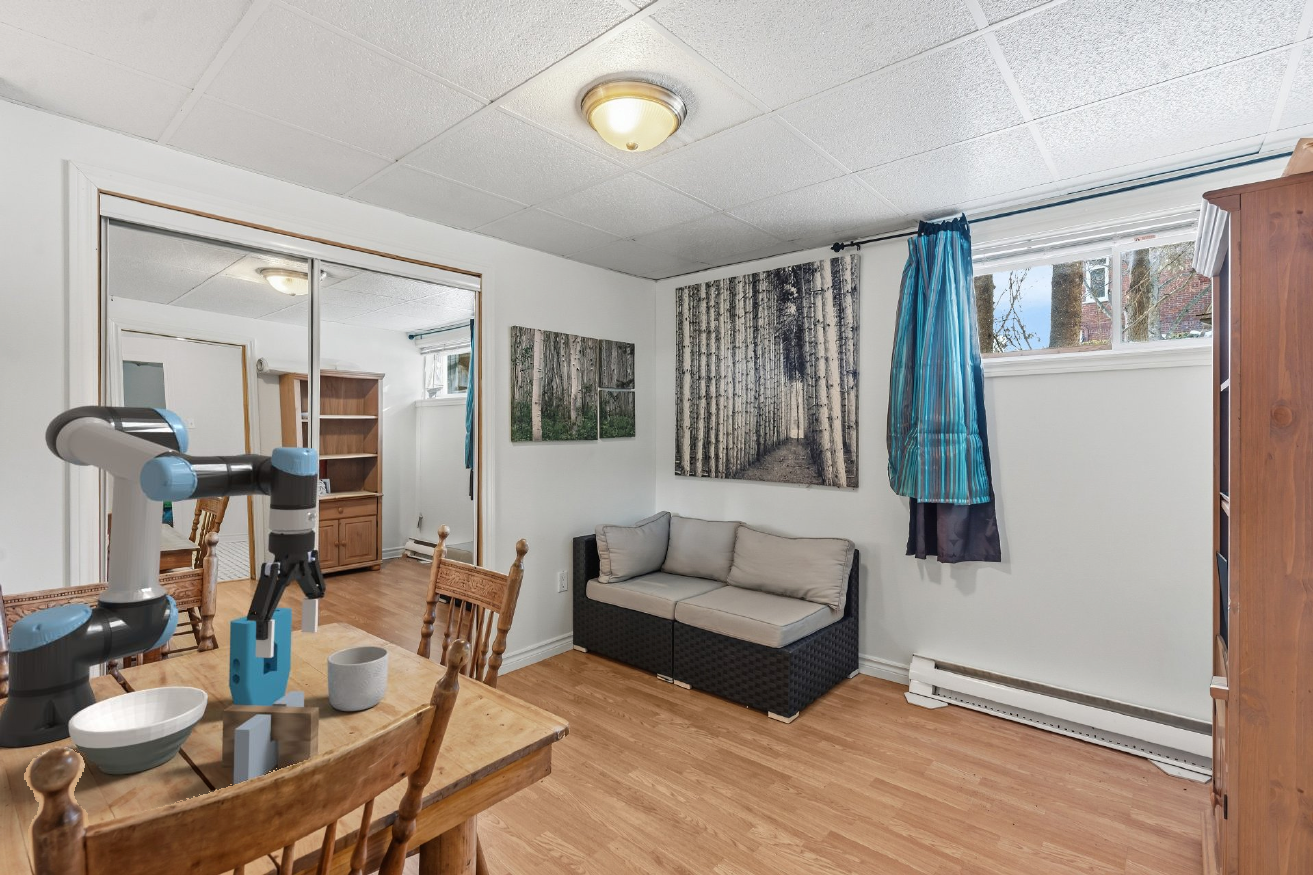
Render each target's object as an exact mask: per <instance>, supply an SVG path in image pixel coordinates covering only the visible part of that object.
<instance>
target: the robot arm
mask: <svg viewBox="0 0 1313 875" xmlns="http://www.w3.org/2000/svg"><path fill="white" fill-rule="evenodd" d="M44 439H45V443H46V446H47V447H48V450H49V451H50V452H51V453H52V454H53V455H54V456H55V457H57V458H58V459H60V460H62V461H65V462H66V463H70V464H72V465H75V466H79V467H88V466H93V467H96V468H97V469H101V470H103V471H106V472H107V473H108V474H110V475H111V476H112V477H113V483H112V484H113V486H112V489H113V490H112V502H111V504H112V506H111V520H110V522H111V523H110V524H111V525H110V538H109V539H110V541H109V559H108V560H109V561H108V573H107V574H108V577H107V588H106V589H105V590H103V591H102V592H101V593H99V594H98V595H97V604H96V607H94V608H91V607H90V605H89V604H86V603H70V604H66V605H58V606H53V607H49V608H45V609H42V610H38V611H35V612H32V613H30V614H28V615H27V614H26V615H25V616H22V617H21V618H20V619H19V620H18V619H17V621H16V622H15V623H13V625H12V626H11V628H10V630H9V641H8V644H7V650H8V682H7V683H8V684H7V685H8V687H7V689H8V690H7V691H8V693H7V694H8V695H7V700H6V703H5V705H4V708H3V710H2V712H1V715H0V746H1V747H6V748H17V747H18V748H19V747H21V748H22V747H28V746H29V747H30V746H31V747H32V746H36V745H41V744H46V743H51V742H55V741H59V740H61V739H65V738H69V737H70V734H69V721H70V720H71V718H72V717H73V716H74V715H76V714H77V713H78V712H80V711H81V710H83V709H85V708H87V707H89V706H91V705H93V704H96V703H98V702H97V701H96V697H95V694H94V691H93V689H92V686H91V684H90V670H91V669H90V668H91V667H94V666H96V665H101V664H104V663H109V662H112V661H116V660H120V659H123V658H127V657H130V656H131V657H132V656H135V655H141V654H146V653H147V652H150V651H152V650H154V649H158V648H159V649H160V648H161V647H163V646H164V645H166V644H167V642H169V641H170V640H171V638H172V637H173V636H174V635H175V632H176V630H177V627H178V623H179V609H178V608H177V602H176V600H175V598H173V596H170V595H169V594H167V592H168V591H167V589H166V588H165V587H163V585H160V583H159V582H160V581H159V580H160V567H161V566H160V565H161V547H162V546H161V545H162V530H163V514H164V512H163V511H164V502H172V503H177V502H181V501H182V502H183V501H191V500H202V499H215V498H225V497H239V496H240V497H241V496H242V497H243V496H253V495H254V496H255V495H256V496H257V495H258V496H259V495H260V496H269V500H270V501H269V517H268V529H269V530H270V532H269V534H268V541H267V542H268V543H267V544H268V545H267V546H268V548H267V550H268V552H269V553H271V554H273V555H274V559H273V561H272V562H262V563H261V566H260V573H259V574H260V575H259V578H258V581H257V585H256V588H255V591H254V594H253V597H252V600H251V603H250V606H249V609H248V612H247V615H246V616H247V620H250V621H256V656H255V657H264V658H271V657H273V651H274V625H275V620H271V618H272V616H273V614H274V612H275V610H276V607H278V605H279V603H280V600H281V599H282V597H283V594H284V592H285V590H286V588H288V587H289V586H291V583H292V582H294V581H296V582H297V584H298V586H299V587H300V589H301V591H302V592H303V594H304V596H305V598H302V603H301V604H302V605H301V606H302V607H301V608H302V609H301V630H300V632H301V633H311V634H312V633H313V634H315V633H317V632H318V615H319V599H323V598H324V597H325V593H326V590H327V587H326V582H325V580H324V576H323V571H322V569H321V565H320V560H319V550H318V549H315V547H316V546H315V545H316V532H315V531H314V530H313V529H314V528H316V518H317V517H318V516H317V514H316V512H317V497H318V496H317V495H318V476H319V471H320V470H319V462H318V459H319V458H318V457H319V456H318V451H317V450H315V449H314V448H312V447H311V448H310V447H299V446H296V447H295V446H293V447H292V446H283V447H282V446H279V447H275V448H274V449H273V450H272V451H271V452H272V453H271V456H270V455H261V454H258V453H243V454H242V453H241V454H240V453H239V454H236V455H213V456H212V455H211V456H210V455H209V456H208V455H207V456H205V455H203V456H201V455H197V456H196V455H195V456H194V455H190V454H186V453H187V452H188V449H189V443H190V442H189V441H190V440H189V433H188V429H187V426H186V425H185V423H184V421H183V420H182V418H181V417H180V416H179V415H178V414H177V413H176V412H174V411H173V410H170V409H164V408H156V407H143V406H141V407H139V406H138V407H137V406H110V405H107V406H106V405H105V406H104V405H83V406H77V407H73V408H70V409H68V410H65V411H63V412H61V413H60V414H58V415H57V416H55V418H53V419H52V420H51V421H50V423H49V424H48V426H46V430H45V437H44ZM266 613H267V614H266Z"/></svg>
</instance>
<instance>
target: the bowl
mask: <svg viewBox="0 0 1313 875" xmlns="http://www.w3.org/2000/svg"><path fill="white" fill-rule="evenodd" d="M208 696H209V695H208V694H207V692H205V691H204V690H202V689H200V688H197V687H191V686H163V687H155V688H146V689H142V690H136V691H132V692H127V693H125V694H119V695H116V696H113V697H110V698H106V699H104V700H100V701H98V702H97V703H96V704H93V705H91V706H89V707H87V708H85V709H83V710H81V711H80V712H78V713H77V714H76V715H74V716H73V717H72V718H71V720H70V721H69V734H70V736H69V737H70V739H71V742H72V743H73V744H74V745H75V746H76V747H77V749H78V750H79V751H80V752H81V753H84V755H85V757H86V758H87V760H89V761H90V762H92V763H94V764H95V765H97V766H98V768H99V770H100V771H101V772H103V773H104V774H109V775H129V774H136V773H140V772H144V771H147V770H150V769H154V768H155V767H158V766H160V765H162V764H165V763H167V762H168V761H170V760H172V758H174V757H175V756H176V755H177V754H178V753H179V751H180V750H181V747H182V745H184V744H185V742H186V741H187V740H188V739H189V737H190V736H191V734H192V732H193V730H194V729H195V728H196V726H197V725H198V724H199V723H200V721H201V719H202V718H203V716H204V713H205V710H206V708H207V704H208Z"/></svg>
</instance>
